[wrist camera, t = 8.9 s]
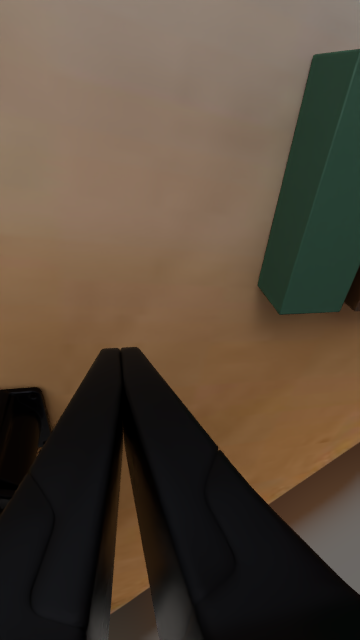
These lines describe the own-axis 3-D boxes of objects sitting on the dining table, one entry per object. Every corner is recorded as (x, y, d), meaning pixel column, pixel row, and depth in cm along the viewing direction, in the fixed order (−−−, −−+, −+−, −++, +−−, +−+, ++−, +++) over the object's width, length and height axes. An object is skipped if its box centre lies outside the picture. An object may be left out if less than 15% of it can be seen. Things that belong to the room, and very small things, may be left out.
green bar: (311, 283, 22) (339, 312, 20) (256, 285, 22) (279, 315, 19) (388, 63, 16) (450, 59, 13) (313, 54, 15) (361, 48, 12)
